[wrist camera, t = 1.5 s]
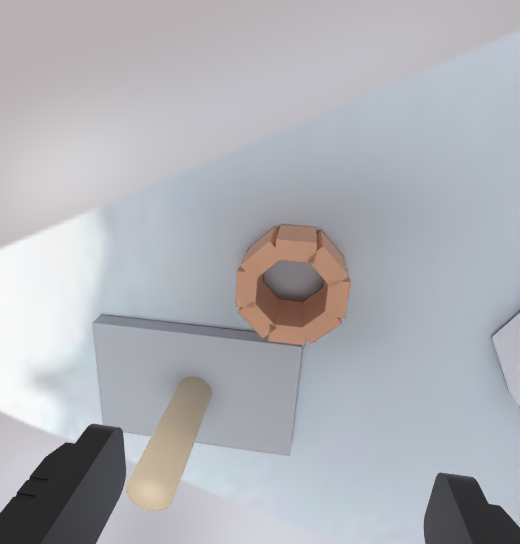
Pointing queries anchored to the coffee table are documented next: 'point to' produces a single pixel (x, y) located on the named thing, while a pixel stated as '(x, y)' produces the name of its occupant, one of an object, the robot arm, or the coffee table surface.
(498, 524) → the robot arm
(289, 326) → the ring
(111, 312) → the coffee table surface
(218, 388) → the post block
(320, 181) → the coffee table surface
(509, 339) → the jar
